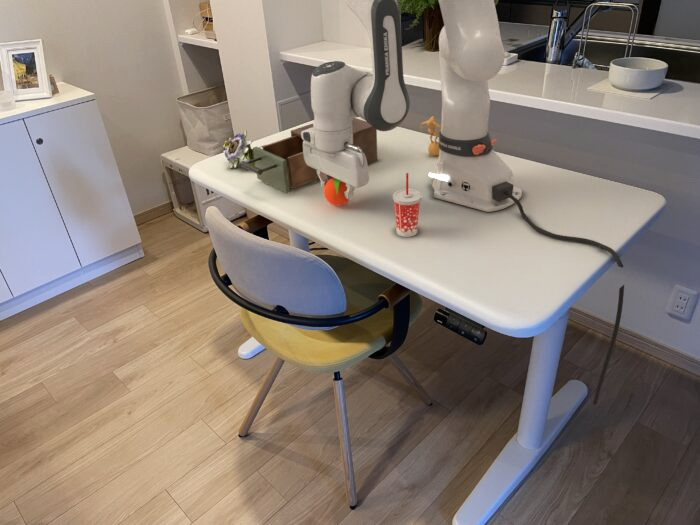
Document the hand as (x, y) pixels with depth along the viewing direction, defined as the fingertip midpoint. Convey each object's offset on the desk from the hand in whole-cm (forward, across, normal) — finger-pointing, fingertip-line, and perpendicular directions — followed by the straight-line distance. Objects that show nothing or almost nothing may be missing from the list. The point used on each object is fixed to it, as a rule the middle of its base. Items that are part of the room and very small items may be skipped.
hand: (337, 192), depth 132 cm
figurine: (+3, +3, -38) cm, 38 cm away
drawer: (+3, +20, 0) cm, 20 cm away
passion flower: (+4, +39, +2) cm, 39 cm away
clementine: (+4, 0, 0) cm, 4 cm away
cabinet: (+3, +20, -16) cm, 26 cm away
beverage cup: (+4, -21, -2) cm, 22 cm away
